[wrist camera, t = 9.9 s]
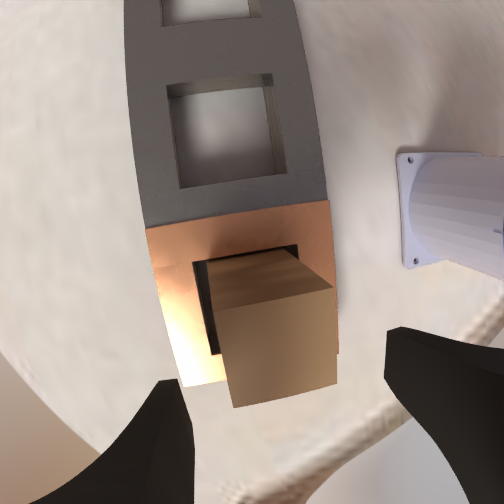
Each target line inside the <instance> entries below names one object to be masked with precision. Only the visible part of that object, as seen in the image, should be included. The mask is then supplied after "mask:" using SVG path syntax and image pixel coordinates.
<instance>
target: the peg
mask: <svg viewBox="0 0 504 504" xmlns="http://www.w3.org/2000/svg"><path fill="white" fill-rule="evenodd" d="M206 260H207V269H208V277H209V286H210V294H211V302H212V310H213V316H214V321H215V326H216V331H217V336H218V340H219V345H220V350H221V355H222V359H223V364H224V368H225V373H226V377H227V382H228V386H229V391H230V395H231V399H232V404H233V408H238V407H243V406H248V405H253V404H258V403H263V402H267V401H272V400H276V399H281V398H285V397H289V396H293V395H297V394H301V393H305V392H309V391H312V390H316V389H320V388H323V387H327V386H330V385H334V384H337V343H336V313H335V292H334V287H333V286H332V285H331V284H329V283H328V282H327V281H325V280H324V279H323V278H322V277H320V276H319V275H318V274H316V273H315V272H314V271H312V270H311V269H310V268H309V267H307V266H306V265H305V264H303V263H302V262H301V261H299V260H298V259H297V258H296V257H294V256H293V255H292V254H290V253H289V252H288V251H286V250H285V249H284V248H282V247H275V248H269V249H263V250H257V251H252V252H246V253H240V254H234V255H229V256H223V257H217V258H211V259H206Z"/></svg>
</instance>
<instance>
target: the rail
mask: <svg viewBox="0 0 504 504" xmlns="http://www.w3.org/2000/svg"><path fill="white" fill-rule="evenodd" d="M248 4H249V10H250V15H251V18H236V19H222V20H210V21H201V22H193V23H185V24H178V25H172V26H166V27H164V26H163V11H162V0H124V45H125V67H126V82H127V96H128V107H129V117H130V127H131V136H132V144H133V152H134V160H135V167H136V174H137V181H138V188H139V194H140V200H141V206H142V212H143V218H144V223H145V233H146V238H147V243H148V248H149V253H150V258H151V262H152V267H153V272H154V276H155V281H156V285H157V289H158V294H159V298H160V302H161V306H162V310H163V314H164V318H165V322H166V326H167V329H168V333H169V337H170V341H171V344H172V348H173V351H174V355H175V358H176V362H177V365H178V369H179V372H180V375H181V379H182V382H183V385H184V387H185V386H192V385H198V384H205V383H211V382H217V381H222V380H227V377H226V373H225V368H224V364H223V359H222V355H221V350H220V345H219V340H218V336H217V333H214V334H209V330H208V325H207V321H206V316H205V311H204V306H203V302H202V297H201V292H200V287H199V282H198V276H197V271H196V266H195V261H200V260H206V259H211V258H217V257H223V256H229V255H234V254H240V253H246V252H252V251H257V250H263V249H269V248H275V247H281V246H285V250H286V251H288V252H289V253H290V254H292V255H293V256H294V257H296V258H297V259H298V260H299V261H301V262H302V263H303V264H305V265H306V266H307V267H309V268H310V269H311V270H312V271H314V272H315V273H316V274H318V275H319V276H320V277H322V278H323V279H324V280H325V281H327V282H328V283H329V284H331V285H332V286H333V287H334V292H335V313H336V343H337V354H339V340H338V311H337V290H336V274H335V259H334V246H333V234H332V224H331V213H330V204H329V200H328V199H327V190H326V181H325V173H324V165H323V158H322V150H321V143H320V136H319V130H318V123H317V117H316V111H315V105H314V99H313V93H312V88H311V82H310V77H309V72H308V66H307V61H306V56H305V51H304V47H303V42H302V37H301V33H300V28H299V24H298V20H297V15H296V11H295V7H294V3H293V0H248ZM252 87H263V91H264V97H265V104H266V110H267V117H268V123H269V130H270V137H271V144H272V151H273V158H274V165H275V172H276V175H270V176H262V177H255V178H248V179H241V180H234V181H227V182H221V183H214V184H208V185H202V186H196V187H190V188H184V189H182V184H181V177H180V170H179V163H178V156H177V149H176V142H175V134H174V126H173V118H172V110H171V101H170V98H173V97H179V96H185V95H192V94H198V93H206V92H213V91H222V90H231V89H241V88H252Z"/></svg>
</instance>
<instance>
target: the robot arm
mask: <svg viewBox="0 0 504 504" xmlns="http://www.w3.org/2000/svg"><path fill="white" fill-rule="evenodd" d="M408 157H409V158H410V163H409V162H408ZM396 163H397V172H398V182H399V193H400V207H401V224H402V255H403V266H404V267H405V268H407V269H413V268H417V267H421V266H425V265H428V264H432V263H436V262H439V261H443V260H449V261H452V262H454V263H457V264H460V265H463V266H465V267H468V268H471V269H473V270H476V271H479V272H481V273H484V274H487V275H489V276H492V277H494V278H497V279H500V280H502V281H504V156H491V157H483V155H482V153H470V152H420V153H400V154H398V155H397V158H396ZM415 258H416V261H415V263H413V261H414V259H415ZM384 379H385V380H386V382H387V384H388V385H389V387H390V389H391V390H392V392H393V393H394V395H395V396H396V398H397V399H398V400H399V401H400V402H401V404H402V405H403V406H404V407H405V408H406V409H407V410H408V412H409V413H410V414H411V415H412V416H413V417H414V418H415V419H416V421H417V422H418V423H419V424H420V425H421V426H422V427H423V428H424V430H425V431H426V432H427V433H428V434H429V435H430V436H431V438H432V439H433V440H434V441H435V443H436V444H437V446H438V447H439V449H440V450H441V452H442V453H443V455H444V456H445V458H446V459H447V461H448V462H449V464H450V466H451V468H452V470H453V471H454V473H455V475H456V476H457V478H458V480H459V482H460V484H461V486H462V488H463V490H464V492H465V494H466V496H467V499H468V501H469V503H470V504H504V349H501V348H492V347H485V346H479V345H474V344H469V343H464V342H460V341H456V340H452V339H448V338H445V337H441V336H437V335H434V334H430V333H426V332H423V331H419V330H415V329H411V328H406V327H398V328H395V329H392V330H389V331H387V340H386V356H385V369H384ZM194 470H195V446H194V436H193V427H192V422H191V419H190V416H189V413H188V411H187V408H186V405H185V402H184V399H183V395H182V392H181V389H180V386H179V383H178V380H177V379H170V380H162V381H158V383H157V384H156V386H155V387H154V388H153V390H152V391H151V393H150V394H149V396H148V397H147V399H146V400H145V402H144V403H143V405H142V406H141V408H140V409H139V410H138V412H137V413H136V415H135V416H134V417H133V419H132V420H131V422H130V423H129V424H128V425H127V427H126V428H125V429H124V430H123V432H122V433H121V434H120V435H119V437H118V438H117V439H116V440H115V441H114V442H113V443H112V445H111V446H110V447H109V448H108V449H107V450H106V451H105V452H104V453H103V454H102V455H101V456H100V457H98V458H97V459H96V460H95V461H94V462H93V463H92V464H91V465H89V466H88V467H87V468H86V469H84V470H83V471H82V472H81V473H79V474H78V475H77V476H75V477H74V478H73V479H72V480H70V481H69V482H67V483H66V484H64V485H63V486H61V487H60V488H58V489H56V490H55V491H53V492H51V493H50V494H48V495H46V496H44V497H42V498H40V499H38V500H36V501H34V502H32V503H29V504H194Z"/></svg>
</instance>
